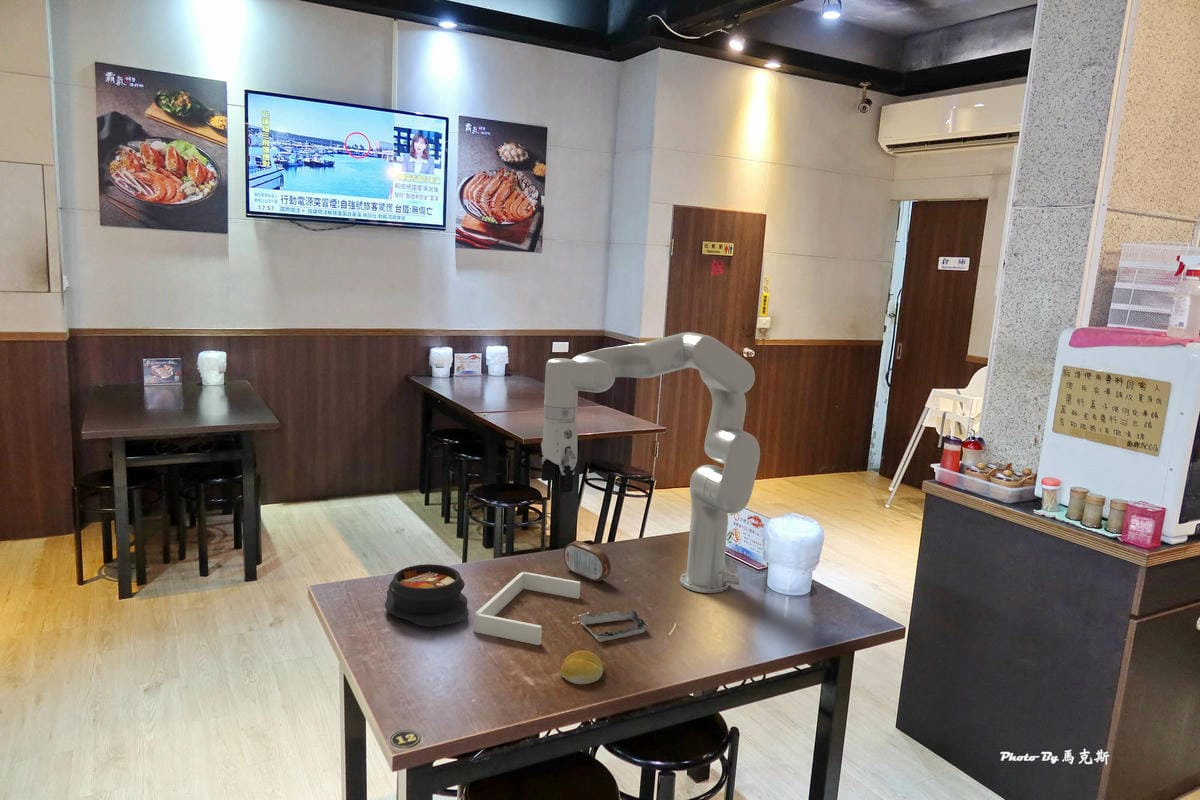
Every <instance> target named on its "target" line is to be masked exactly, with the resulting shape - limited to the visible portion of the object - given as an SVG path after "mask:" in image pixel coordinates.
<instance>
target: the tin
mask: <svg viewBox="0 0 1200 800" xmlns="http://www.w3.org/2000/svg"><path fill="white" fill-rule="evenodd" d="M563 557H564V558H563V559H564V564H565V566H566V567H567V568H568V569H569V570H570V571H571V572H572V573H574V574H576V575H578V576H581V577H583V578H586V579H587V578H588V580H590V581H592V580H593V581H592V582H595V581H596V582H600V581H602V580H606V579H608V577H609V576H610V574H611V571H612V570H611V561H610V558H609V556H608V555H607V554H606V553H605V552H604V551H603V550H602V548H601V549H600V548H598V547H596V546H593V545H590V544H588V543H585V542H584V541H580V540H574V541H572V542H571V543H568V544H567V545H565V547H564V550H563Z"/></svg>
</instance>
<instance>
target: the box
mask: <svg viewBox="0 0 1200 800" xmlns="http://www.w3.org/2000/svg"><path fill="white" fill-rule="evenodd" d="M523 590H529V591H532V592H533V591H534V592H539V593H545V594H549V595H550V594H552V595H556V596H562V597H566V598H573V599H578V600H579V599H580V598H581V581H577V580H572V579H568V578H567V579H566V578H561V577H554V576H549V575H545V574H540V573H539V574H537V573H533V572H528V571H527V572H526V571H521V572H520V573H518V574H517V575H516V576H515V577H514V578H513V579H512V580H510V581H509V582H508V583H507V584H506V585H505V586H504V587H502V588H501V589H500V590H499V591H498V592H497V593H496V594H495V595H494V596H492V598H490V599H489V600H488V601H487V602H486V603H485V604H484V605H483V606H482V607H480V608H479V609H478V610H477V611H475V613H473V623H472V625H473V627H472V632H473V633H477V634H483V635H488V636H492V637H497V638H502V639H506V640H512V641H517V642H523V643H527V644H531V645H536V646H540V645H541V643H542V630H543V629H542V627H543V626H542V625H540V624H539V625H538V624H534V623H530V622H523V621H520V620H519V621H518V620H514V619H510V618H504V617H499V616H497V614H498V613H500V612H501V611H502V609H504V608H505V606H507V605H508V604H509V603H510V602H511V601H512V600H513V599H514V598H515V597H517V595H518V594H520V593H521V591H523Z"/></svg>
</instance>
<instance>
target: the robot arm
mask: <svg viewBox="0 0 1200 800" xmlns="http://www.w3.org/2000/svg"><path fill="white" fill-rule="evenodd" d="M684 369H694V370H697V371H698V372H699V377H700V379H701V380H702V381H703V383H704V384H705V386H706V387H707V388H708V390H709V392H710V395H711V400H712V401H711V403H712V406H711V410H710V411H711V413H710V418H709V422H708V424H707V425H708V426H707V430H706V436H705V439H704V446H703V449H704V453H705V454H706V455H707V456H708V457H709V458H710V459H712V460H713V461H715V462H717V463H720V464H722V465H723V467H721V466H717V465H714V464H704V465H700V466H698V467H697V468H696V469H695V470H694V471H693V472H692V474H691V477H690V481H689V494H690V503H691V505H690V507H691V509H690V510H691V511H690V513H691V514H690V523H689V524H690V525H689V527H690V528H689V535H688V536H689V538H688V551H687V552H688V553H687V562H686V563H687V564H686V572H684V573H682V574H681V575H680V577H679V583H680V584H681V586H683V587H684V588H686V589H688V590H689V591H690V590H691V591H693V592H698V593H701V594H702V593H703V594H704V593H705V594H717V592H718V593H722V592H724V590H725V591H726V590H727V589H728V588H729V585H730V584H733V585H736V586H737V585H738V586H740V584H741V577H738V574H736V573H729V572H728V571H727V567H726V566H725V559H726V548H727V546H726V545H727V539H728V538H727V536H728V535H727V533H728V527H729V514H737V513H740V512H742V511H743V510H744V509H745V508H746V507H747V505H749V504H748V503H749V501H750V500H751V497H752V493H753V490H754V486H755V481H756V478H757V477H756V476H757V474H758V473H757V472H758V468H759V464H760V459H761V447H760V444H759V442H758V440H757V438H756V437H755V436H754V435H753V434H751V433H750V432H747V431H744V423H745V417H746V412H747V411H746V410H747V400H746V395H745V394H746V393H747V392H748V391H750V390H751V388H752V387H753V386H754V383H755V380H756V373H755V370H754V367H753V366H752V364H751V363H750V362H749V361H748V360H747V359H745V358H744V357H742V356H741V355H740V354H739V353H737V352H735V351H734V350H733V349H732V348H730V347H729V346H727V345H726V344H724V343H723V342H721V341H720V340H718V339H717V338H715V337H713V336H711V335H707V334H702V333H698V332H693V331H688V332H687V331H686V332H680V333H675V334H673V335H668V336H665V337H661V338H657V339H653V340H649V341H644V342H639V343H630V344H624V345H617V346H612V347H605V348H600V349H596V350H592V351H588V352H584V353H579V354H577V355H575V356H574V357H573V358H571V359H570V358H565V357H562V358H561V357H557V358H556V357H555V358H554V357H553V358H550V359H548V360H547V361H546V364H545V377H544V379H545V380H544V398H543V399H544V400H543V417H542V418H543V420H544V424H543V429H542V430H543V431H542V440H541V442H540V447H541V452H540V455H541V457H542V458H541V460H540V461H541V481H542V482H546V481H554V480H555V479H556V478H555V477H556V474H555V473H556V465H557V466H558V467H559V470H560V474H559V476H558V477H559V479H558V492H559V493H568V492H569V493H571V492H573V487H574V486H573V485H574V475H575V470H576V467H577V466H576V465H577V463H578V428H577V415H578V414H577V413H578V401H579V400H578V396H579V391H580V392H581V391H582V392H588V393H604V392H606V391H608V390H609V389H611V388H612V386H613V385H614V384H615V380H616V378H634V379H636V378H637V379H652V378H655V377H658V376H661V375H666V374H669V373H672V372H677V371H680V370H684Z"/></svg>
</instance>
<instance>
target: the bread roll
mask: <svg viewBox="0 0 1200 800" xmlns="http://www.w3.org/2000/svg"><path fill="white" fill-rule="evenodd" d="M559 673H560V676H561V678H563V679H564V678H565V680H566V681H568V682H570V683H571V684H575V685H588V684H592V683H596V682H597V681H598V680H600V679H601V677H602V676H603V673H604V665H603V662H602V660H601V659H600V657H599V656H598V655H596V654H595V653H593V652H592V651H588V650H577V651H574V652H572V653H570V654H568V655H567V656H566V657H565V659H564V661H563V665H561V668H560V670H559Z"/></svg>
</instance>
